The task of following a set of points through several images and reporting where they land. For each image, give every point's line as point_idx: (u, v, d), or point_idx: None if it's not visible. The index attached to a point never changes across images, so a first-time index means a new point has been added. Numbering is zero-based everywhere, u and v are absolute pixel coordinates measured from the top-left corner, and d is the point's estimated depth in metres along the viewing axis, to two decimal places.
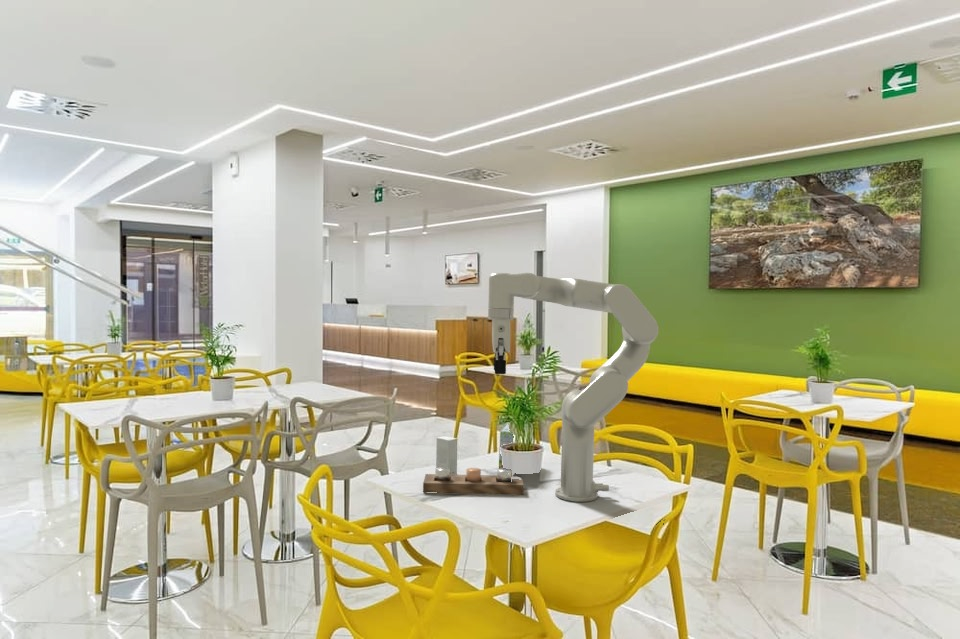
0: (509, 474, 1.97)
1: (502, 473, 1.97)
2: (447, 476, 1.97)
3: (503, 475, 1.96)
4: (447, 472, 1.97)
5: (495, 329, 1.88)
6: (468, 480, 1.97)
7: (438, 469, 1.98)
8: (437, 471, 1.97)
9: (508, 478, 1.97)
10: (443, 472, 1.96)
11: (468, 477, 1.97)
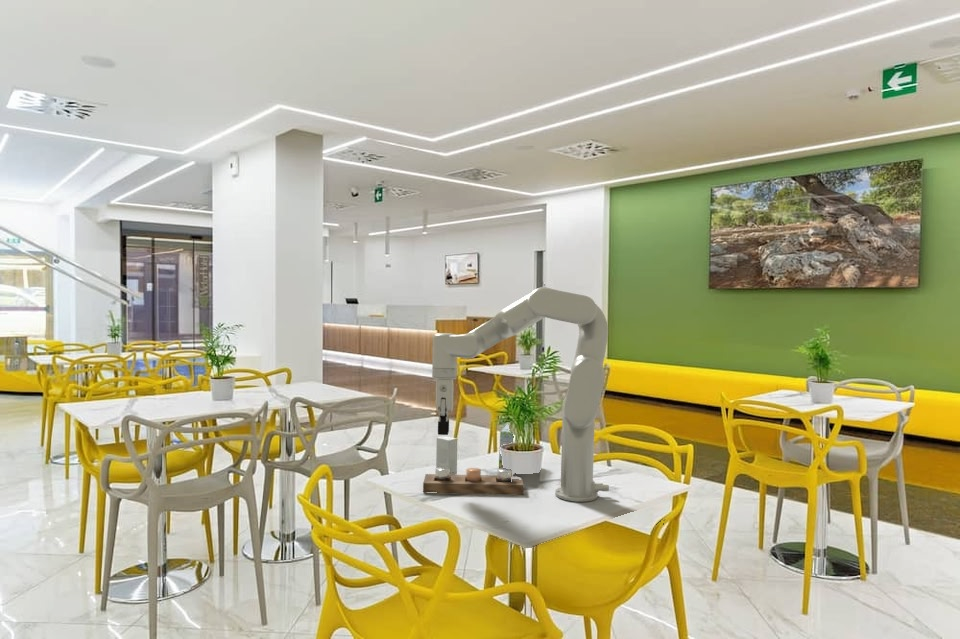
0: (509, 474, 1.97)
1: (502, 473, 1.97)
2: (447, 476, 1.97)
3: (503, 475, 1.96)
4: (447, 472, 1.97)
5: (438, 389, 1.93)
6: (468, 480, 1.97)
7: (438, 469, 1.98)
8: (437, 471, 1.97)
9: (508, 478, 1.97)
10: (443, 472, 1.96)
11: (468, 477, 1.97)
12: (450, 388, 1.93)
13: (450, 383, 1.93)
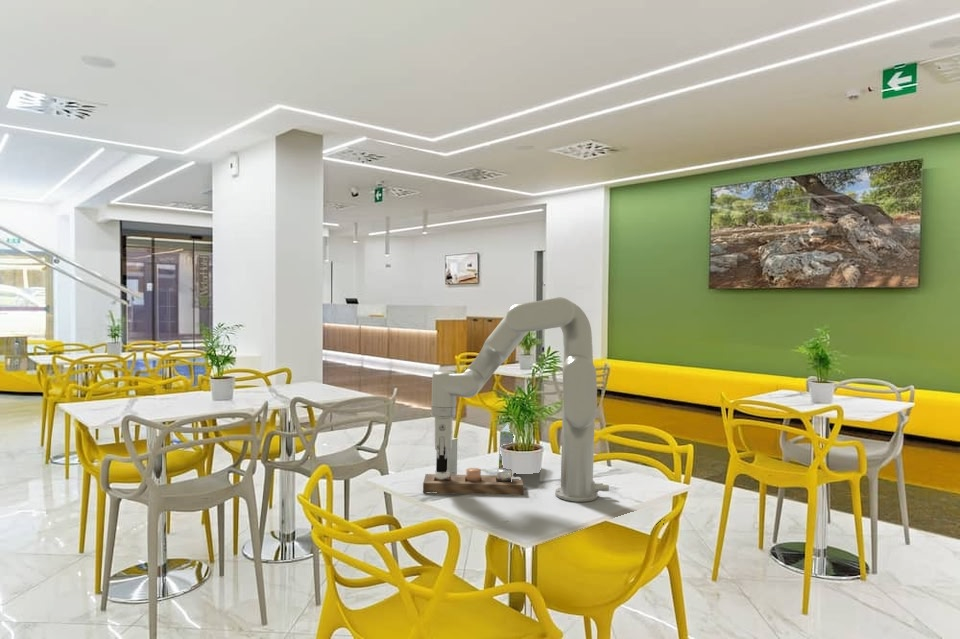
0: (509, 474, 1.97)
1: (502, 473, 1.97)
2: (447, 478, 1.97)
3: (503, 475, 1.96)
4: (447, 474, 1.97)
5: (436, 428, 1.93)
6: (468, 480, 1.97)
7: None
8: (437, 473, 1.97)
9: (508, 478, 1.97)
10: (443, 474, 1.96)
11: (468, 477, 1.97)
12: (449, 427, 1.93)
13: (449, 422, 1.94)
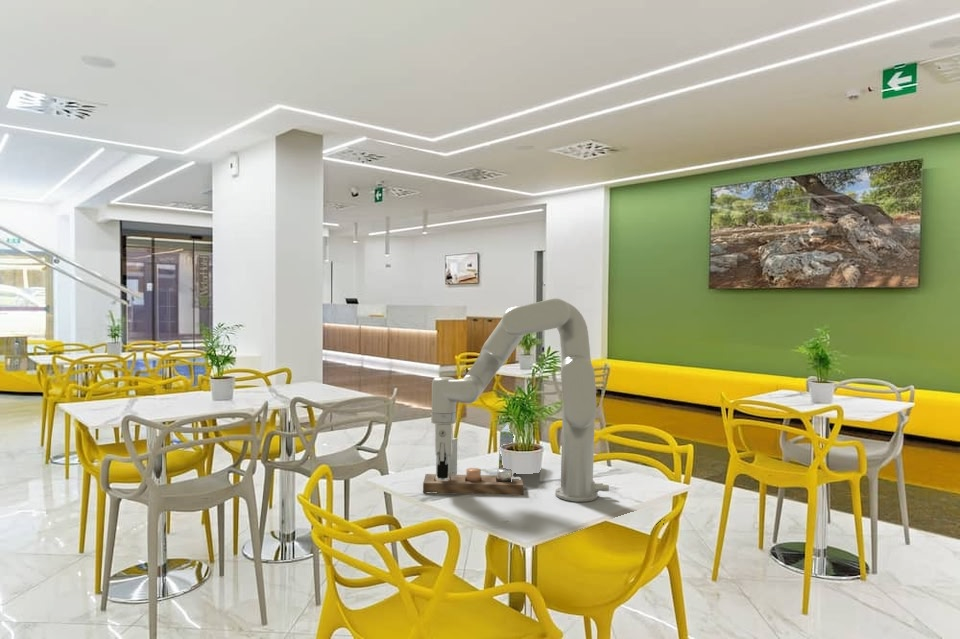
0: (509, 474, 1.97)
1: (502, 473, 1.97)
2: None
3: (503, 475, 1.96)
4: (447, 480, 1.97)
5: (437, 434, 1.94)
6: (468, 480, 1.97)
7: None
8: (437, 479, 1.97)
9: (508, 478, 1.97)
10: (443, 480, 1.96)
11: (468, 477, 1.97)
12: (449, 433, 1.93)
13: (449, 428, 1.94)
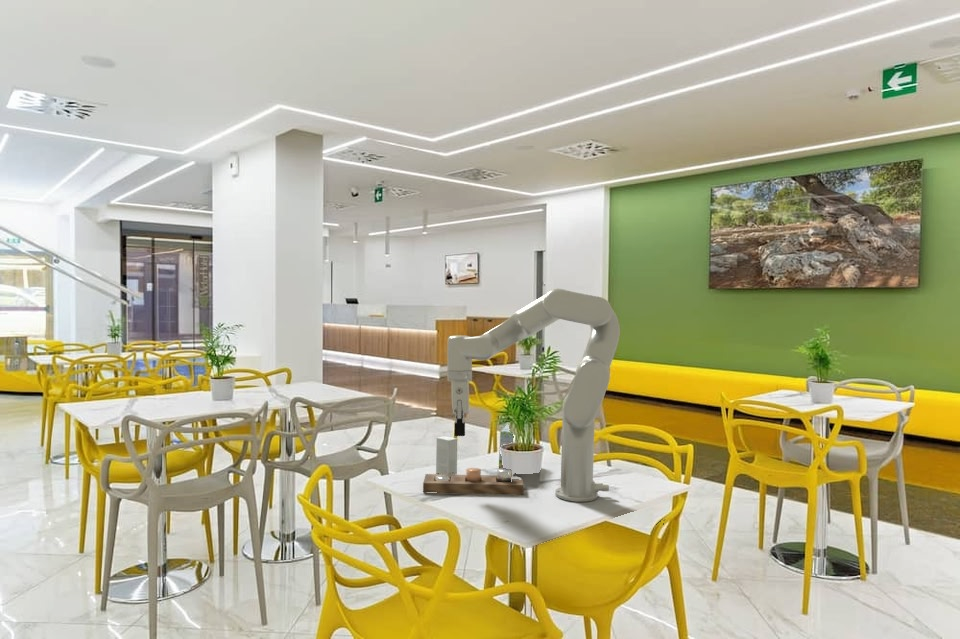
0: (509, 474, 1.97)
1: (502, 473, 1.97)
2: None
3: (503, 475, 1.96)
4: (447, 480, 1.97)
5: (453, 391, 1.93)
6: (468, 480, 1.97)
7: (438, 477, 1.98)
8: (437, 479, 1.97)
9: (508, 478, 1.97)
10: (443, 480, 1.96)
11: (468, 477, 1.97)
12: (466, 390, 1.93)
13: (466, 385, 1.93)
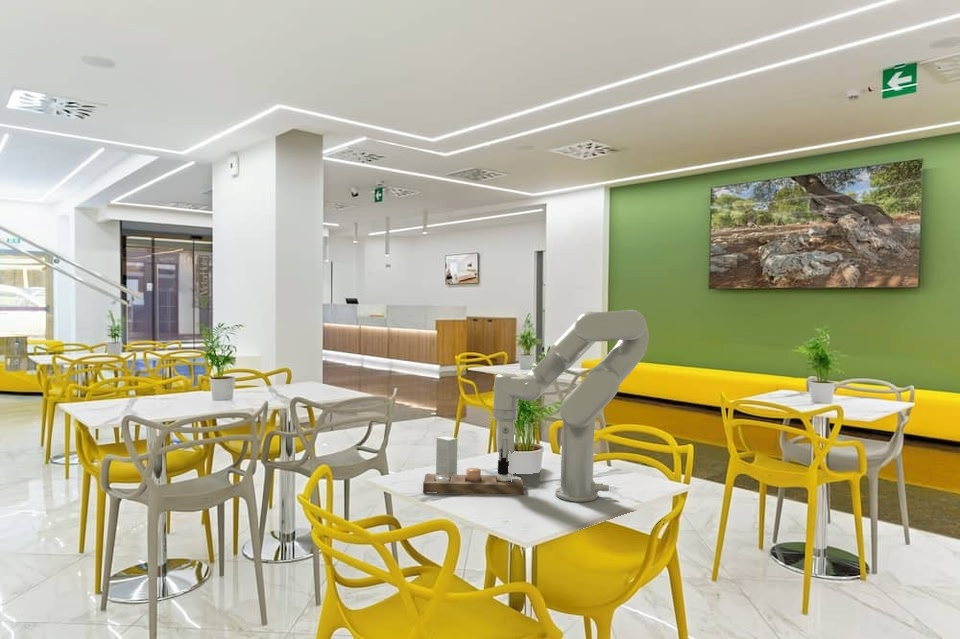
0: (509, 478, 1.97)
1: (502, 477, 1.97)
2: None
3: (503, 479, 1.96)
4: (447, 480, 1.97)
5: (499, 430, 1.94)
6: (468, 480, 1.97)
7: (438, 477, 1.98)
8: (437, 479, 1.97)
9: None
10: (443, 480, 1.96)
11: (468, 477, 1.97)
12: (512, 430, 1.94)
13: (512, 425, 1.94)
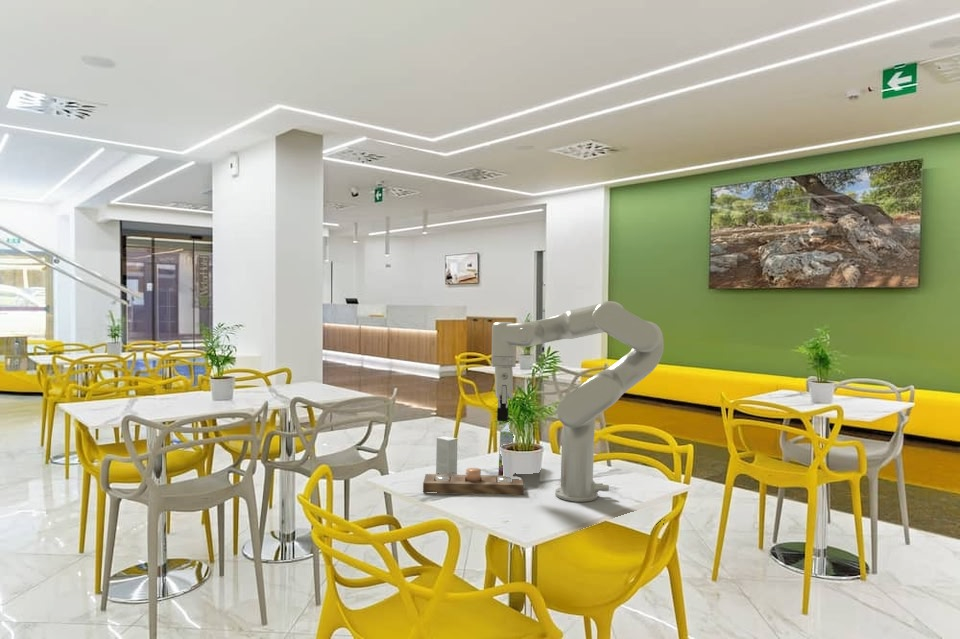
0: None
1: (502, 481, 1.97)
2: None
3: None
4: (447, 480, 1.97)
5: (498, 376, 1.96)
6: (468, 480, 1.97)
7: (438, 477, 1.98)
8: (437, 479, 1.97)
9: None
10: (443, 480, 1.96)
11: (468, 477, 1.97)
12: (511, 376, 1.96)
13: (511, 371, 1.96)
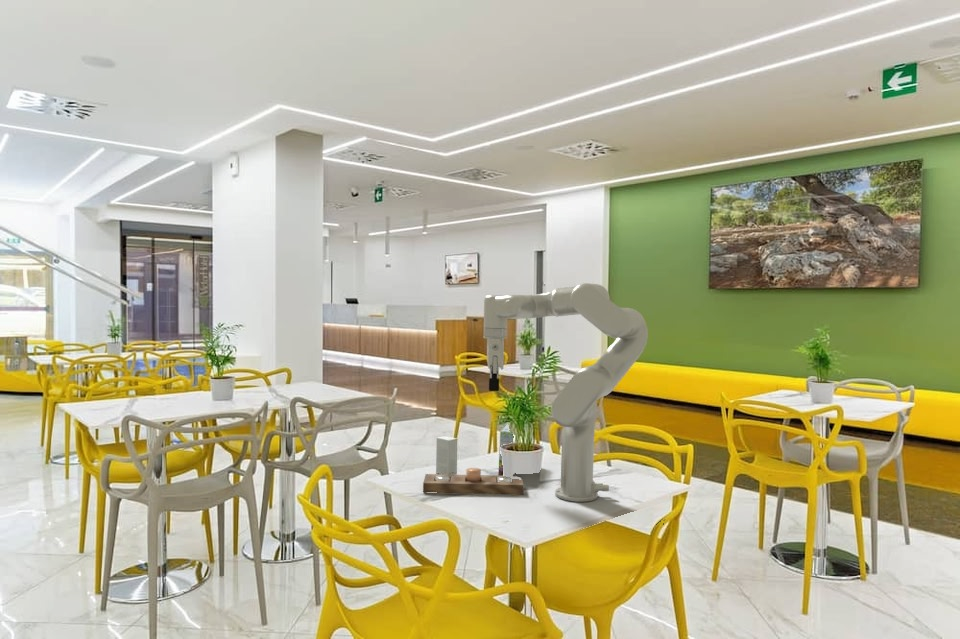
0: None
1: (502, 481, 1.97)
2: None
3: None
4: (447, 480, 1.97)
5: (490, 347, 2.03)
6: (468, 480, 1.97)
7: (438, 477, 1.98)
8: (437, 479, 1.97)
9: None
10: (443, 480, 1.96)
11: (468, 477, 1.97)
12: (501, 347, 2.03)
13: (501, 342, 2.03)
